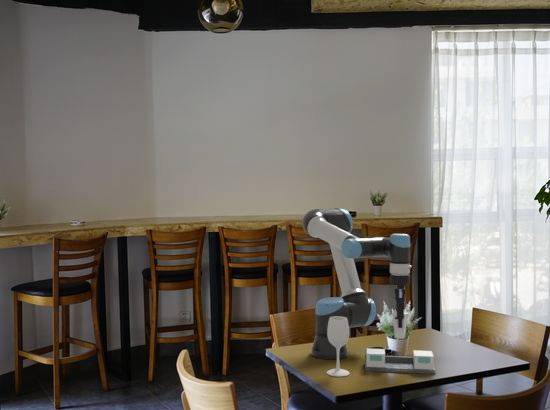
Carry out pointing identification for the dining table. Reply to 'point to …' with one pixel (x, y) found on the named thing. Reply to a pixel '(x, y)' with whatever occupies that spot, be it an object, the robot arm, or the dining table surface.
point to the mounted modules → (419, 359)
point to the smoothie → (395, 323)
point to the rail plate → (399, 366)
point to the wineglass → (338, 340)
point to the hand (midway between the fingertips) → (399, 333)
